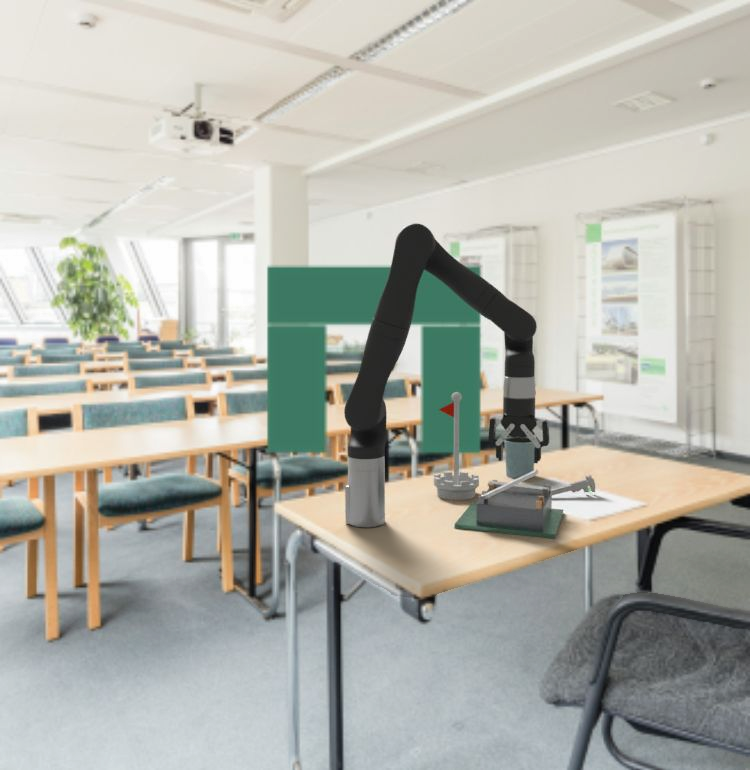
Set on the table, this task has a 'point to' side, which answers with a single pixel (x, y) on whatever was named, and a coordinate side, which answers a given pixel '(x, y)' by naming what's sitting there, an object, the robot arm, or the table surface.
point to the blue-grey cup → (519, 456)
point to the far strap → (519, 486)
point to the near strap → (510, 484)
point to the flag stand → (455, 464)
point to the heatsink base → (472, 524)
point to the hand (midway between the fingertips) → (518, 461)
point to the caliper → (576, 486)
